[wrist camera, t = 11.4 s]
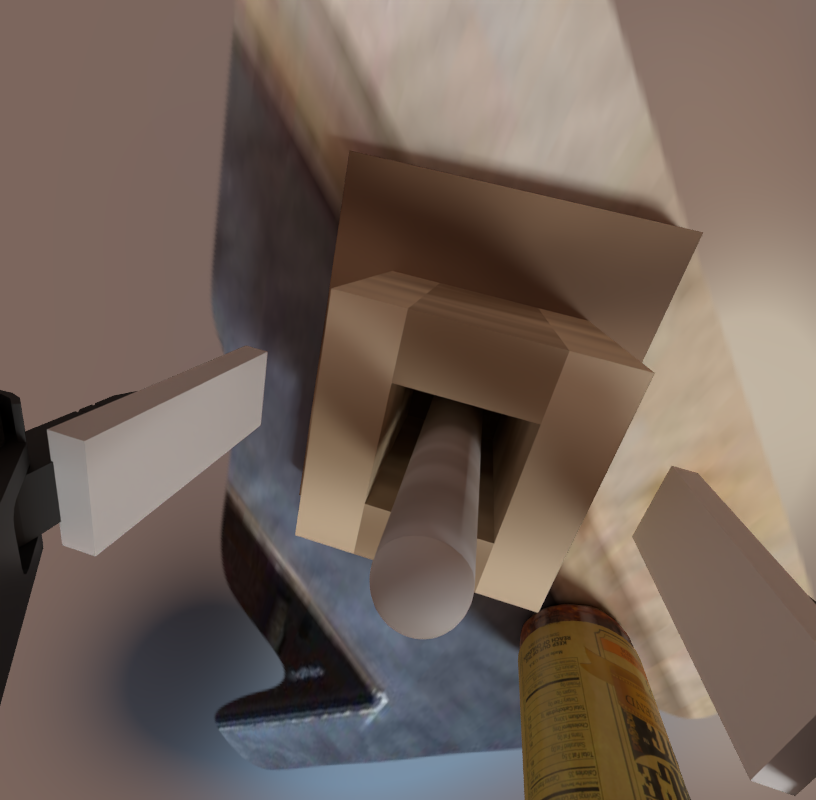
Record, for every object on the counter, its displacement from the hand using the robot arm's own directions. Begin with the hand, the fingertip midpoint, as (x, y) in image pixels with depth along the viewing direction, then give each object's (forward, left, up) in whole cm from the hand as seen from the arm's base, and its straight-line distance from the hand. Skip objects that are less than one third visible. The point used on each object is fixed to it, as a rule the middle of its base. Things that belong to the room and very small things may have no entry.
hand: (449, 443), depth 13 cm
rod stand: (0, 0, -7) cm, 7 cm away
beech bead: (0, 0, -5) cm, 5 cm away
